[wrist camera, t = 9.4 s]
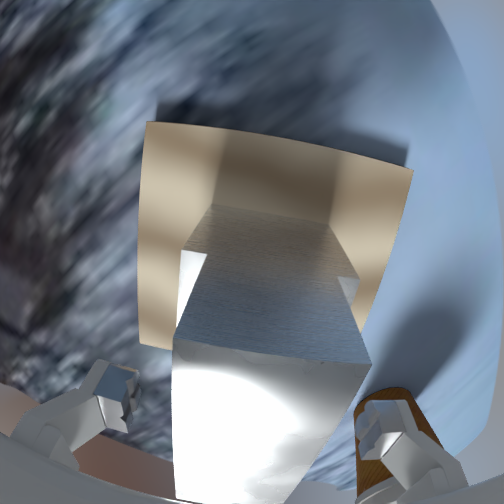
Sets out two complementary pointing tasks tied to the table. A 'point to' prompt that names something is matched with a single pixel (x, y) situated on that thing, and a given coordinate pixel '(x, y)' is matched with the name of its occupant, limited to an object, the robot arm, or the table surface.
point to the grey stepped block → (260, 354)
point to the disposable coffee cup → (374, 471)
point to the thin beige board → (257, 205)
